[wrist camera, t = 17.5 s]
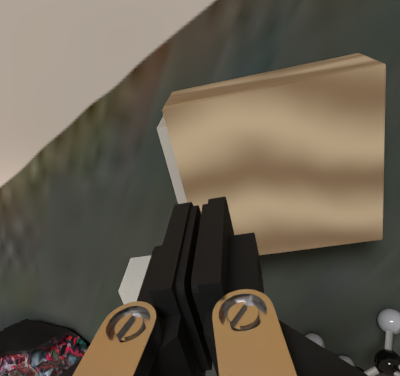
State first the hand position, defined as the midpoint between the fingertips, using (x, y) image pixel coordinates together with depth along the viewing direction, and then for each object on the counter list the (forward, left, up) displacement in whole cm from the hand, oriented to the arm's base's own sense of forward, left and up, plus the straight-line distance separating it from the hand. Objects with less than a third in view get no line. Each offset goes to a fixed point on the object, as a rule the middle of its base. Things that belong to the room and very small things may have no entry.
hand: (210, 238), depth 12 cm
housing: (-6, -4, -21) cm, 22 cm away
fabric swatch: (-34, +28, -21) cm, 49 cm away
